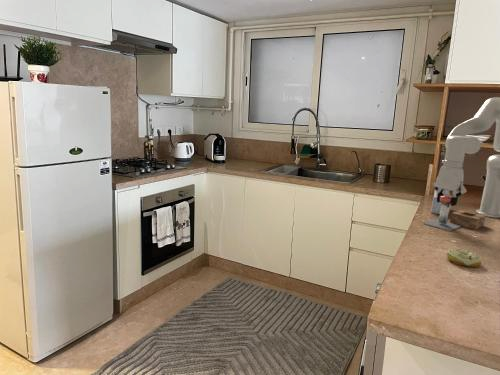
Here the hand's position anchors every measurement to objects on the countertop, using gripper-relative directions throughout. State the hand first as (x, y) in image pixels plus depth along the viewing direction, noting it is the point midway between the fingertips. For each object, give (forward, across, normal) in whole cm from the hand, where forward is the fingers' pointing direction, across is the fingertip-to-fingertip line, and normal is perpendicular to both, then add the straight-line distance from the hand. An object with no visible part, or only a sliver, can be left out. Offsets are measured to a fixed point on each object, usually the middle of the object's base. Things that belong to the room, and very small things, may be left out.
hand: (446, 203), depth 173 cm
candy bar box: (+11, -20, +30) cm, 38 cm away
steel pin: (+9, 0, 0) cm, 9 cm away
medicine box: (+11, -14, +19) cm, 26 cm away
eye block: (+11, +4, +14) cm, 18 cm away
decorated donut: (+11, +29, -34) cm, 47 cm away
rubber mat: (+11, 0, 0) cm, 11 cm away
